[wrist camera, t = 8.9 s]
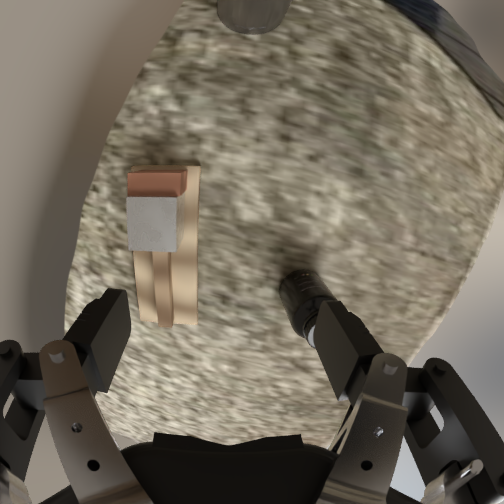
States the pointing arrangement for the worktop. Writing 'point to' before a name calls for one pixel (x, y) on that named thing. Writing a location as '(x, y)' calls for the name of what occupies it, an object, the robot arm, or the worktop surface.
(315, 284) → the supplement bottle
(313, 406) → the worktop surface
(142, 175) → the rail
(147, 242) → the block
